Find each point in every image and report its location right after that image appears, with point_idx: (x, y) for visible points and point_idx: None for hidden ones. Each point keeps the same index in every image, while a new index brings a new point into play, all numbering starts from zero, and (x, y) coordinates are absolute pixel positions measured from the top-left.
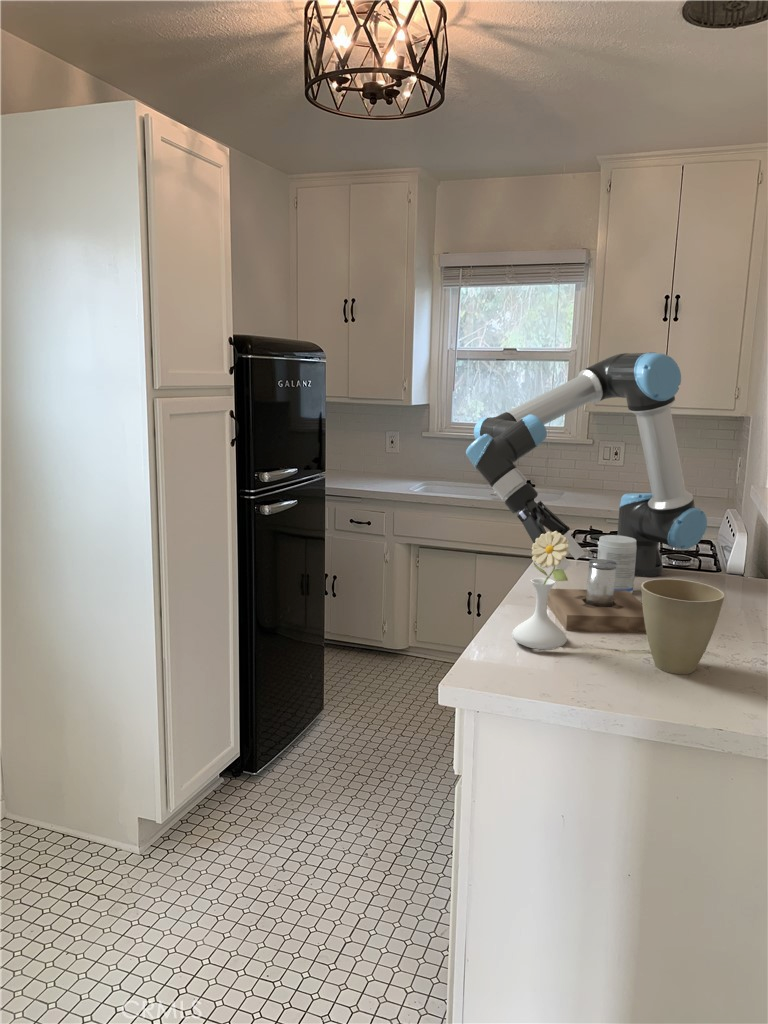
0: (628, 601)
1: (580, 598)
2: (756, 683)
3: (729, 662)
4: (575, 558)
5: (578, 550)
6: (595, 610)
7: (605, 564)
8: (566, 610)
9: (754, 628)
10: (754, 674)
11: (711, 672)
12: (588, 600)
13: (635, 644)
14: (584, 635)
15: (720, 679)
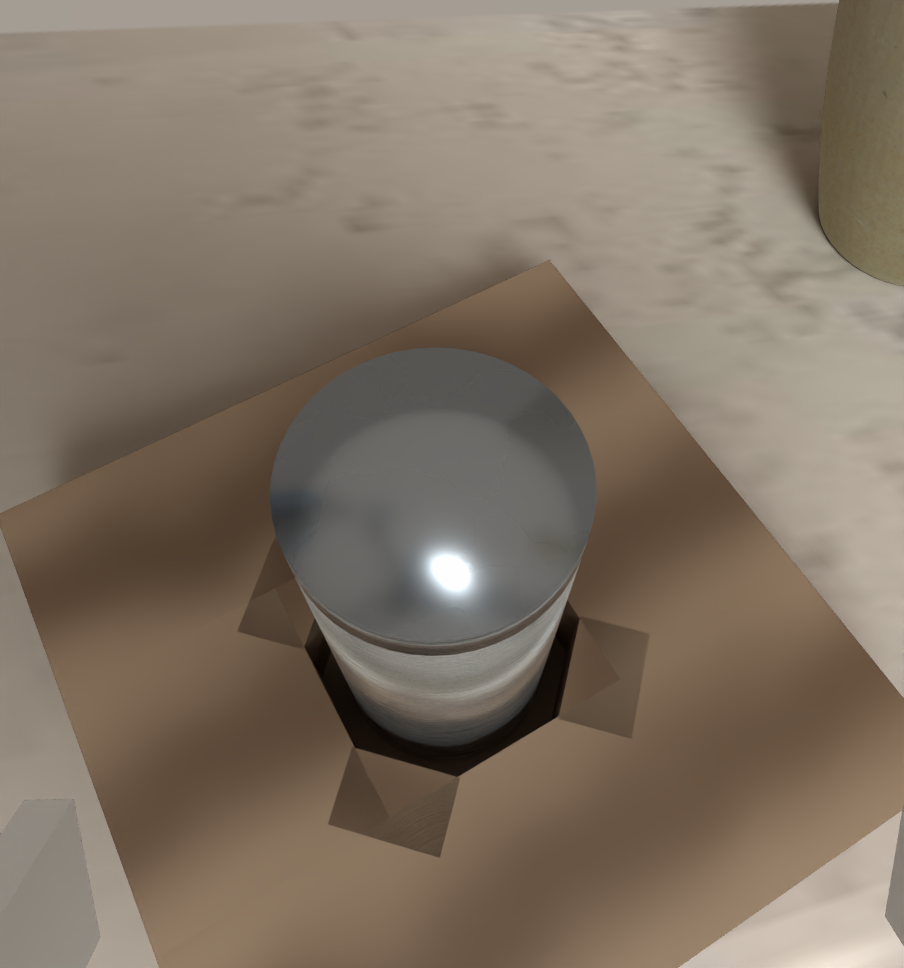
0: None
1: (427, 798)
2: (831, 9)
3: (672, 81)
4: (90, 947)
5: (37, 908)
6: (681, 606)
7: (521, 434)
8: (851, 810)
9: (141, 41)
10: (742, 17)
11: None
12: (524, 698)
13: (732, 401)
14: None
15: None
